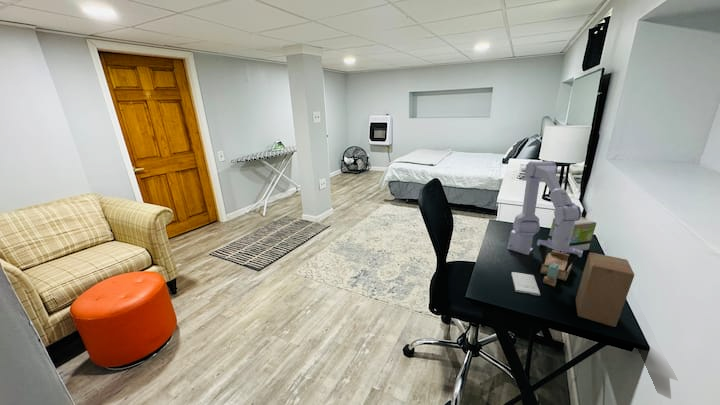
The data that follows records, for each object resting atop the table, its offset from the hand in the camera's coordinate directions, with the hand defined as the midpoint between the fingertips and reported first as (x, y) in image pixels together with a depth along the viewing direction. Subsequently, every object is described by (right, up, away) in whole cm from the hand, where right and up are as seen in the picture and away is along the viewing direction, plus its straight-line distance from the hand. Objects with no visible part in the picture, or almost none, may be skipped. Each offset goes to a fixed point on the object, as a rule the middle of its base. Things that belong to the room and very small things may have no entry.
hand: (554, 266), depth 113 cm
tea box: (+25, +3, +27) cm, 37 cm away
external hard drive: (-12, -8, 0) cm, 14 cm away
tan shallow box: (+4, -5, +6) cm, 9 cm away
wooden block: (+3, -13, -16) cm, 20 cm away
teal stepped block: (0, -6, +2) cm, 7 cm away
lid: (+6, 0, +7) cm, 10 cm away
